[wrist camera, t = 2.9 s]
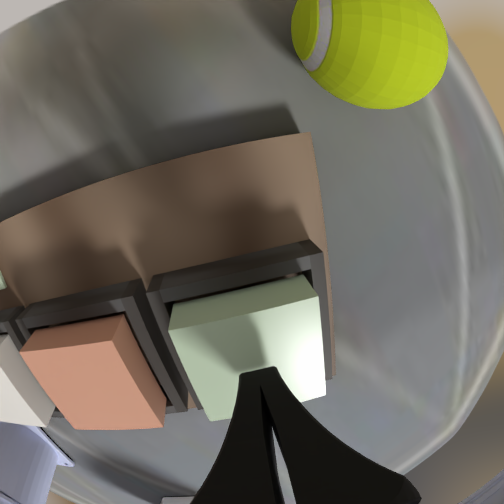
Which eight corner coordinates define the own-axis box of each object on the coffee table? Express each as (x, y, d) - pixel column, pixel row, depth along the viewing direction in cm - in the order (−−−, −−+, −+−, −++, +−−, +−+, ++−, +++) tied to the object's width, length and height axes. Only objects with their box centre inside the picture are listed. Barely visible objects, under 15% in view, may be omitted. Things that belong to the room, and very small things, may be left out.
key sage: (209, 392, 14) (210, 421, 12) (173, 304, 12) (168, 330, 10) (313, 368, 14) (325, 394, 12) (303, 274, 12) (318, 296, 11)
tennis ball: (273, -4, 11) (311, -79, 4) (386, 17, 11) (461, -21, 5) (277, 110, 13) (331, 82, 7) (396, 122, 14) (488, 120, 7)
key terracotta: (83, 405, 14) (75, 429, 12) (35, 329, 12) (19, 352, 10) (166, 399, 14) (163, 427, 12) (123, 314, 12) (111, 340, 10)
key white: (6, 402, 13) (-4, 420, 11) (-35, 339, 11) (-50, 356, 9) (56, 405, 14) (46, 427, 12) (9, 333, 12) (-8, 354, 10)
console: (26, 401, 17) (13, 427, 14) (-54, 251, 12) (-81, 268, 9) (328, 360, 18) (345, 394, 15) (300, 133, 13) (325, 129, 10)
